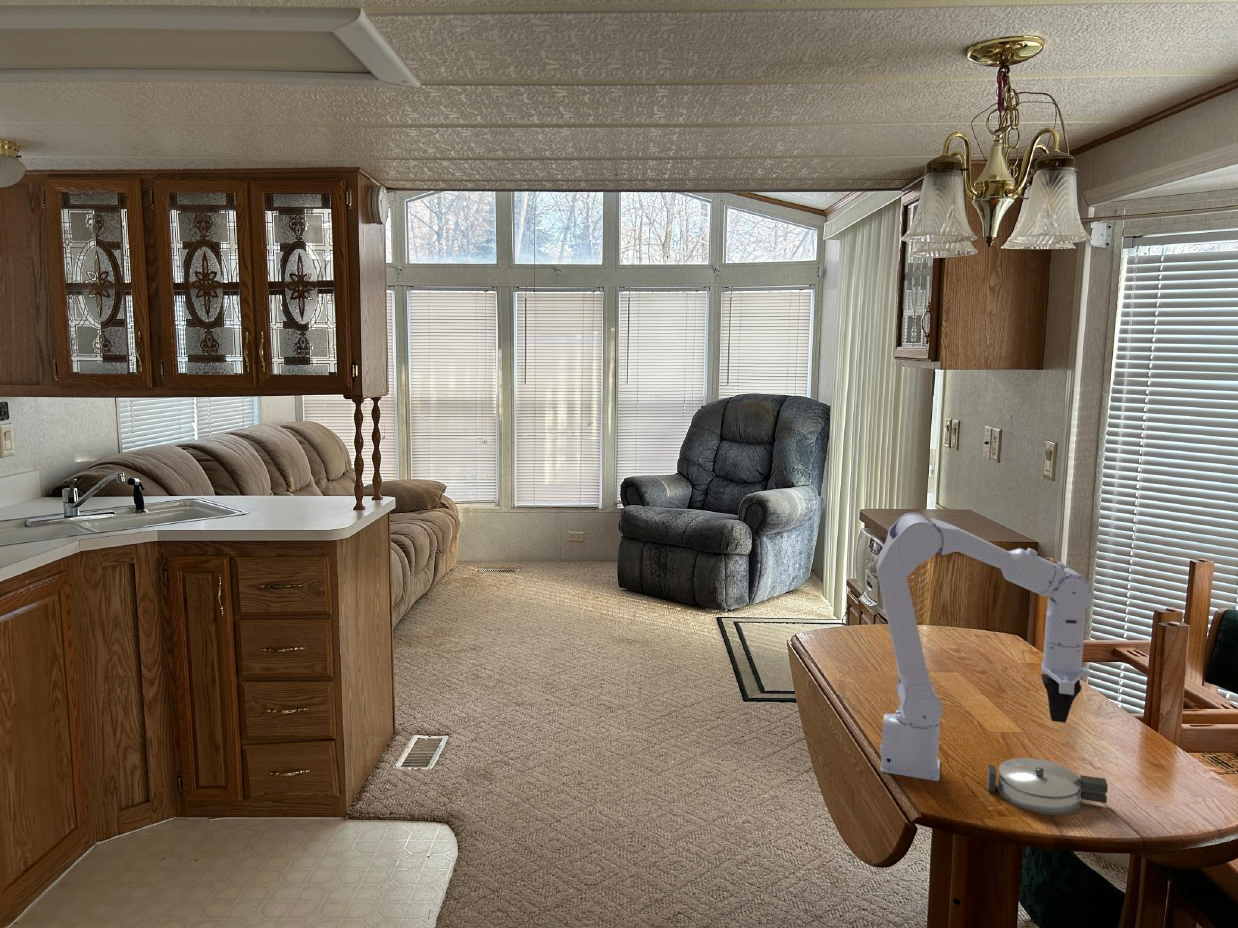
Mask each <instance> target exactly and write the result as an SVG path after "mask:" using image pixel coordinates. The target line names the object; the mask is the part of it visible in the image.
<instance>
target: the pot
mask: <svg viewBox="0 0 1238 928" xmlns="http://www.w3.org/2000/svg"><path fill="white" fill-rule="evenodd" d="M996 771H997V770H996V766H995V765H991V764H988V769H987V791H988V792H990V793H996V782H997V791H998V794H999V795H1000V796H1001V797H1002V798H1003V799H1004V800H1005V801H1007V802H1008V803H1010V804H1012V805H1014V806H1015V807H1018V808H1020V809H1022V810H1025V811H1028V812H1032V813H1036V814H1041V815H1049V816H1066V815H1071V814H1074V813H1076V812H1077V811H1078V810H1079V809H1080V807H1081V800H1084V801H1091V802H1095V803H1103V804H1108V796H1107V793H1105V792H1098V791H1091V790H1084V789H1082V787H1081V791H1080V792H1079V793H1078V794H1077V795H1075V796H1072V797H1068V798H1044V797H1038V796H1034V795H1030V794H1026V793H1023V792H1021V791H1018V790H1016V789H1014V788H1012V787H1010V786H1009V785H1007V784H1006V783H1005V782H1003V781H1002V779H1001V778H1000V776H999V775H998V779H997V772H996ZM996 779H997V780H996Z"/></svg>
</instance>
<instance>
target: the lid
mask: <svg viewBox="0 0 1238 928" xmlns="http://www.w3.org/2000/svg"><path fill="white" fill-rule="evenodd" d="M999 776H1000V778H1001V779H1002V781H1003V782H1005V783H1006V784H1007V785H1009V786H1010V787H1012V788H1014V789H1016V790H1018V791H1021V792H1023V793H1026V794H1030V795H1034V796H1038V797H1044V798H1068V797H1072V796H1075V795H1077V794H1078V793H1079V792H1080V791H1081V787H1082V789H1084V790H1091V791H1098V792H1105V793H1106V794H1107V793H1108V783H1107V780H1106V778H1102V777H1096V776H1095V777H1094V776H1089V775H1082V774H1080V775H1078V774H1076V773H1075V772H1074V770H1071V769H1069V768H1067V767H1065V766H1064V765H1061V764H1059V763H1058V764H1057V762H1056V763H1055V762H1052V761H1048V760H1044V759H1038V758H1031V757H1017V758H1016V757H1015V758H1010V759H1007V760H1005V761H1003V762H1001V763H1000V764H999V765H998V777H999Z"/></svg>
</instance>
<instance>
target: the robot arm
mask: <svg viewBox="0 0 1238 928" xmlns="http://www.w3.org/2000/svg"><path fill="white" fill-rule="evenodd" d="M929 519H930V520H931V521H932V523H931V521H930V520H929ZM929 519H928V517H926V516H925V515H923V514H921V513H918V512H907V513H905V514H903V515H901V516H900V517H899V518H898V519H897V520H896V521H895V522H894V523H893V524H892V525H891V526H890V527H889V528H888V532H887V535H886V539H885V542H884V544H883V547H882V549H881V552H880V554H879V557H878V560H877V562H876V564H875V567H876V568H875V569H876V574H877V579H878V583H879V588H880V592H881V598H882V603H883V606H884V611H885V615H886V620H887V624H888V629H889V634H890V639H891V642H892V643H891V645H892V647H893V651H894V653H893V654H894V657H895V661H896V669H897V674H898V675H897V676H898V679H897V683H896V686H895V687H896V688H895V689H896V690H895V691H896V695H897V697H898V700H899V702H900V705H898V707H897V709H896V711H895V713H884V714H883V718H882V719H883V721H882V732H881V744H880V747H879V755H880V756H881V757H880V772H881V773H886V774H893V775H899V776H903V777H904V776H905V777H909V778H910V777H911V778H916V779H923V780H927V781H932V782H933V781H934V782H939V781H940V776H941V773H940V772H941V771H940V770H941V769H940V766H941V760H940V759H939V744H940V741H939V740H940V727H941V725H940V722H941V717H942V715H943V704H942V702H941V700H940V698H939V697H938V696H937V694H936V691H935V689H934V688H935V687H934V684H933V682H932V681H931V679H930V675H929V672H928V668H927V665H926V661H925V656H924V652H923V646H922V640H921V638H920V632H919V629H918V624H917V618H916V615H915V614H916V613H915V608H914V605H913V600H912V597H911V592H910V591H911V590H910V587H909V582H908V577H909V576H910V575H911V574H912V572H913V571H914V570H915V569H916V568H917V567H918V566H919V565H921V564H922V563H925V562H926V561H927V560H929V559H931V558H933V557H934V556H935V555H937V553H940V555H941V556H945V555H948V554H953V553H955V552H956V553H957V552H958V553H961V554H963V555H966V556H968V557H970V558H973V559H976V560H977V561H981V562H982V563H985V564H988V565H990V566H993V567H995V568H997V569H1000V570H1001V573H1002V576H1003V578H1004V580H1005V581H1008V582H1010V583H1013V584H1014V585H1018V586H1019V587H1022V588H1024V589H1026V590H1028V591H1031V592H1033V593H1035V594H1037V595H1040V596H1043V597H1047V604H1046V605H1047V606H1046V607H1047V609H1046V614H1045V624H1044V625H1045V626H1044V627H1045V629H1044V641H1043V656H1042V657H1043V658H1042V663H1041V667H1040V668H1041V671H1042V672H1043V674H1041V680H1042V683H1043V685H1044V688H1045V690H1046V694H1047V701H1048V711H1049V716H1050V719H1051V721H1052V722H1058V723H1062V724H1064V723H1065V724H1066V721H1067V719H1068V717H1069V714H1070V711H1071V707H1072V705H1073V703H1074V700H1075V699H1076V697H1077V696H1078V695H1079V693H1080V692H1081V690H1082V685H1081V681H1080V679H1081V678H1082V677H1089V676H1090V675H1091V673H1090V670H1089V669H1088V668H1086V667H1083V666H1082V664H1083V656H1084V655H1083V654H1084V653H1083V652H1084V643H1085V642H1084V641H1085V629H1086V627H1085V625H1086V610H1087V609H1086V608H1087V607H1088V606H1089V605H1090V604H1091V602H1092V601H1093V599H1094V592H1092V587H1091V584H1090V582H1088V580H1087V579H1086V578H1085V577H1084V576H1083V575H1081V574H1080V573H1078V572H1077V571H1075V570H1074V569H1072V568H1070V567H1069V566H1067V565H1066V564H1064V563H1063V562H1060V561H1057V562H1056V563H1055V562H1053V561H1051V560H1049V559H1046V558H1044V557H1042V556H1039V555H1038V552H1037V551H1036V550H1035V549H1032V548H1030V547H1028V548H1027V549H1023V548H1021V547H1020V548H1015V549H1012V550H1006V549H1004V548H1001V547H999V546H998V545H995V544H993V543H992V542H989V541H988V540H985V539H983V538H981V537H979V536H977V535H975V534H973V533H970V532H968V531H967V530H964V529H963V528H959V527H958V526H955V525H953V524H950V523H948V522H945V521H942V520H939V519H937V518H932V517H930V518H929Z"/></svg>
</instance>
